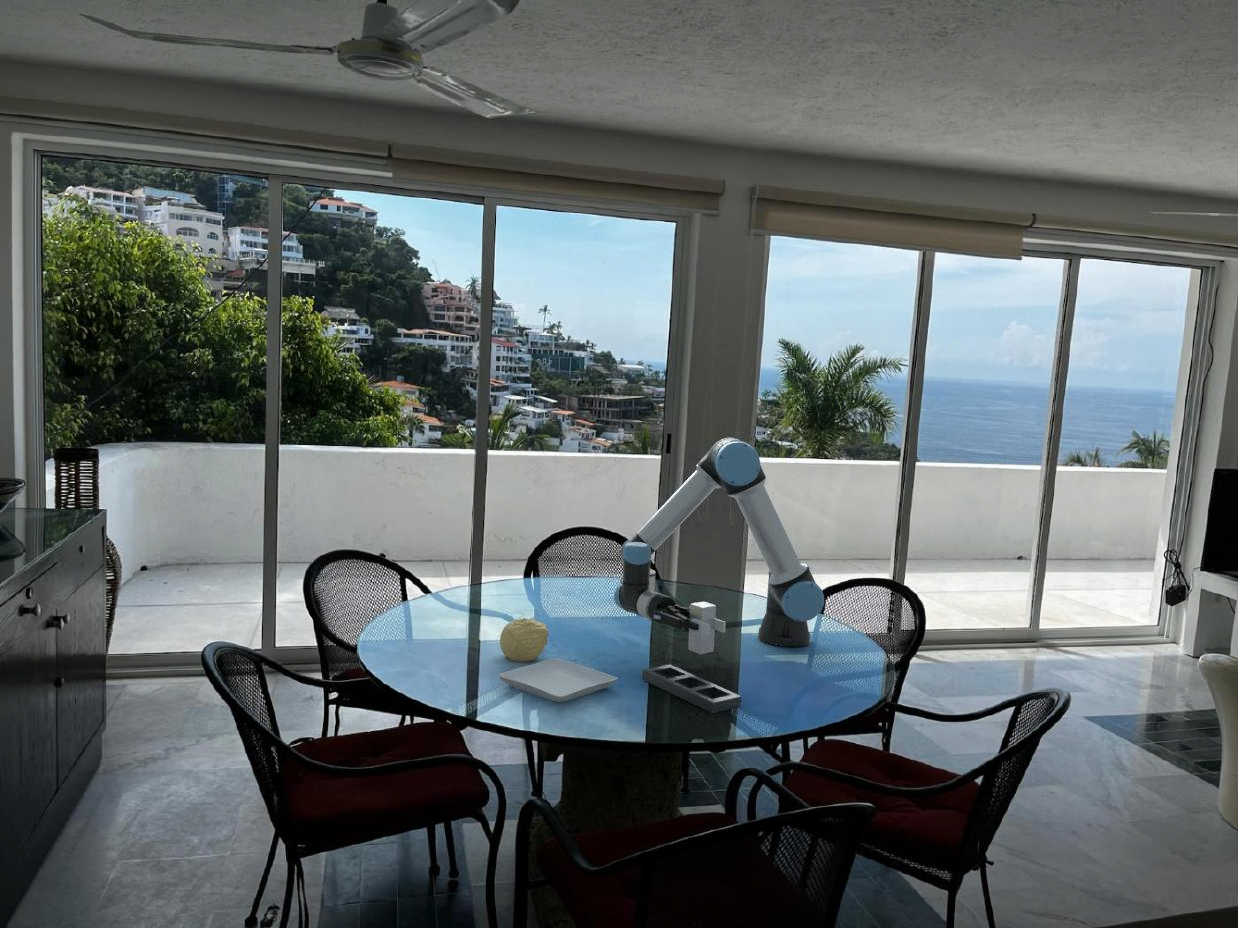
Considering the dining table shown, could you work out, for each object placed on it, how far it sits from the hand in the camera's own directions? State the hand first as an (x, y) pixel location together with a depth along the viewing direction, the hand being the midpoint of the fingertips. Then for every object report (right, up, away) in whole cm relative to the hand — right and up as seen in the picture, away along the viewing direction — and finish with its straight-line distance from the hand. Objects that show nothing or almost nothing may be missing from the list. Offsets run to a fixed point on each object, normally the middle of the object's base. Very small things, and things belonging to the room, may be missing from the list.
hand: (716, 628), depth 237 cm
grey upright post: (-3, -6, +5) cm, 9 cm away
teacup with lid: (-18, -4, +84) cm, 86 cm away
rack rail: (-7, -14, -7) cm, 17 cm away
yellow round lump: (-50, -10, +12) cm, 52 cm away
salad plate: (-39, -13, -9) cm, 42 cm away
